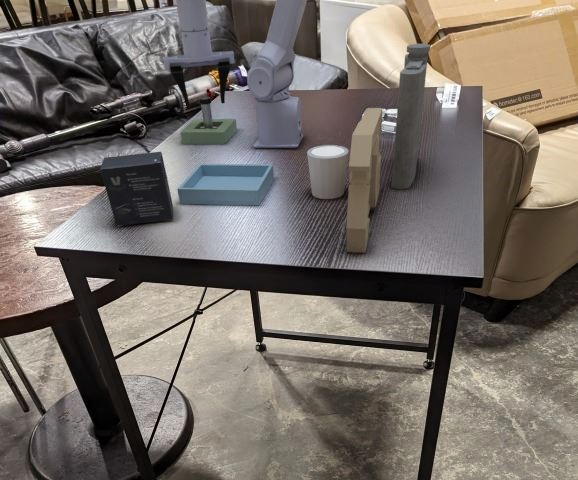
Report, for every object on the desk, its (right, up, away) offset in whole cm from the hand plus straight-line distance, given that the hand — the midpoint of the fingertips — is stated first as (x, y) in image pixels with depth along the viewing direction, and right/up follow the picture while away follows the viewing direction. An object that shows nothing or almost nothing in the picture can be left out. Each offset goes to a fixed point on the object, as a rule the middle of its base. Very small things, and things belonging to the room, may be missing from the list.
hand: (205, 103), depth 115 cm
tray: (+7, -27, -20) cm, 34 cm away
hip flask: (+40, -23, -18) cm, 49 cm away
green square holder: (0, -5, +5) cm, 7 cm away
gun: (+30, -35, -32) cm, 56 cm away
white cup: (+25, -28, -23) cm, 44 cm away
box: (-6, -34, -27) cm, 44 cm away
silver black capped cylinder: (0, -5, +5) cm, 7 cm away
